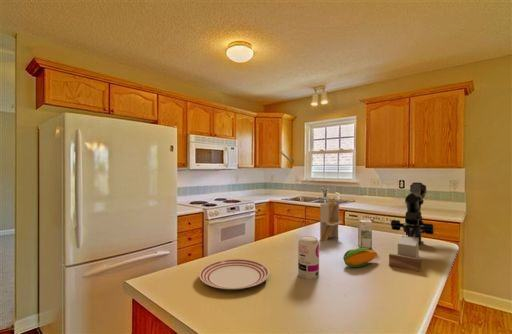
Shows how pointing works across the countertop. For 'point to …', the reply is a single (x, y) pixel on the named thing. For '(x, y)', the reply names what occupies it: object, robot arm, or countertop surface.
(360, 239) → the syrup box
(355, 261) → the corn
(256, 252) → the countertop surface
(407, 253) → the slab
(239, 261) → the dinner plate
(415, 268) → the stop rail
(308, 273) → the supplement can
